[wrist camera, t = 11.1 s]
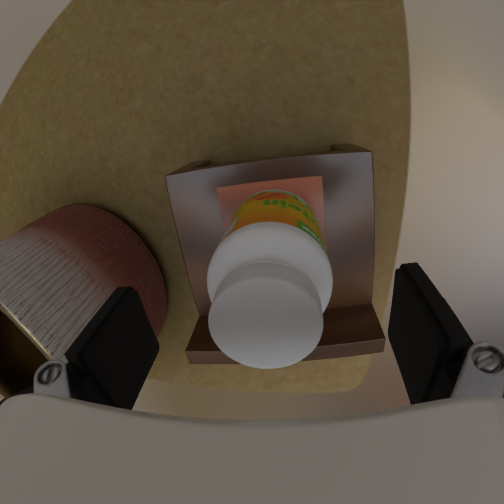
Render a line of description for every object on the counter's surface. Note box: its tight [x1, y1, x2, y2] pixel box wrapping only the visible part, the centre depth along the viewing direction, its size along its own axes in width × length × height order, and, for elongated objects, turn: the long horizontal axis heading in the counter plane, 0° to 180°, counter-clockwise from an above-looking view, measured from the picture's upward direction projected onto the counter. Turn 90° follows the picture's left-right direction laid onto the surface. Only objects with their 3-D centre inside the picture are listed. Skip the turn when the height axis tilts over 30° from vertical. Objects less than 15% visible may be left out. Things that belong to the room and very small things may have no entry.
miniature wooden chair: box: [165, 144, 385, 364], centre depth 20 cm, size 12×13×10 cm
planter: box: [0, 204, 167, 399], centre depth 22 cm, size 18×18×16 cm
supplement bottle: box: [207, 189, 333, 369], centre depth 14 cm, size 5×5×10 cm
